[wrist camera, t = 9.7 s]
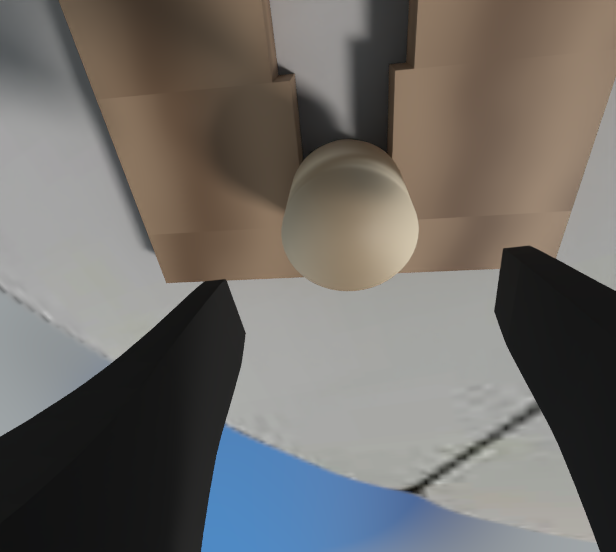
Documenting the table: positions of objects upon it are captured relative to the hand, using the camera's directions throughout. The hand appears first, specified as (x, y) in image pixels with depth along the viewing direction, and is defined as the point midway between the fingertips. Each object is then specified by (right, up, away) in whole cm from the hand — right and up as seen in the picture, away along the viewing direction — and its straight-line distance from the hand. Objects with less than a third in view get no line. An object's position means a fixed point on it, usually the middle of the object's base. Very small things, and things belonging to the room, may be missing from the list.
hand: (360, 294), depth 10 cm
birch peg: (0, +6, +8) cm, 10 cm away
